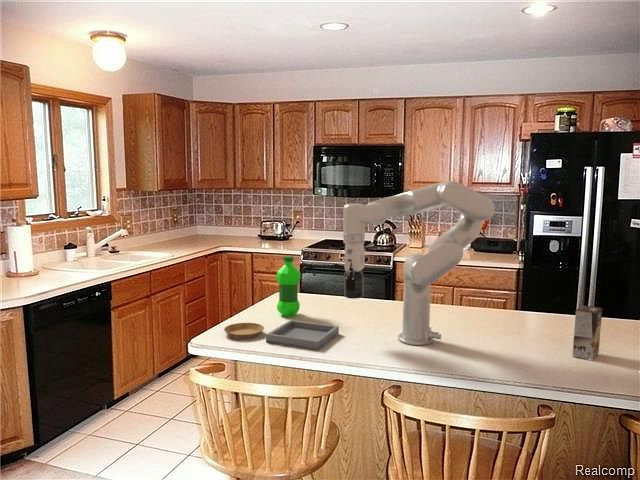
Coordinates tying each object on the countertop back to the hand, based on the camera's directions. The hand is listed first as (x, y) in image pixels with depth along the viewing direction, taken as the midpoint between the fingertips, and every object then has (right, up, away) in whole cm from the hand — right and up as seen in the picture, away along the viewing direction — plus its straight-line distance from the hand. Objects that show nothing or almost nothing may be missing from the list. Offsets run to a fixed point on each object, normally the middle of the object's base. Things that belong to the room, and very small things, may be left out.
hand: (353, 287), depth 187 cm
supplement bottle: (0, -3, 0) cm, 4 cm away
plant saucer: (-40, -19, +8) cm, 45 cm away
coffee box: (+77, -22, -11) cm, 81 cm away
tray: (-18, -19, +4) cm, 27 cm away
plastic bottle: (-26, -15, +35) cm, 46 cm away
